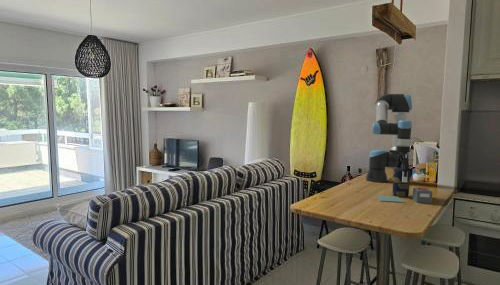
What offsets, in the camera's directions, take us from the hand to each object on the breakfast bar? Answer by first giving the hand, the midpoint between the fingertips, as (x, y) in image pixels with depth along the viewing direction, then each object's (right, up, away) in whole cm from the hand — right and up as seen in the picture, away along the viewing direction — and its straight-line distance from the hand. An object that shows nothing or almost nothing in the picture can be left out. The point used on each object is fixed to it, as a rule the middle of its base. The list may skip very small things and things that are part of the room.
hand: (401, 180), depth 210 cm
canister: (0, -10, +1) cm, 10 cm away
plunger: (+7, -10, -11) cm, 17 cm away
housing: (+7, -11, -11) cm, 17 cm away
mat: (-11, -11, -8) cm, 17 cm away
